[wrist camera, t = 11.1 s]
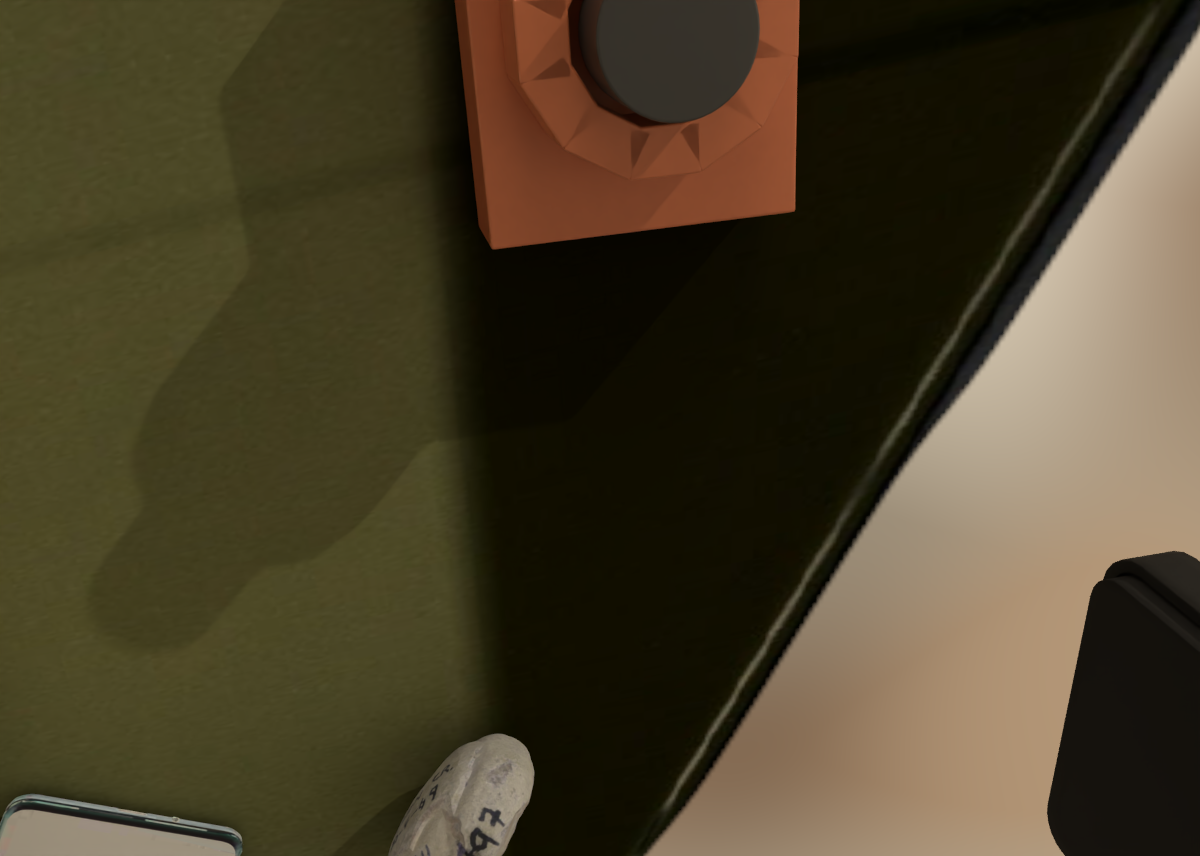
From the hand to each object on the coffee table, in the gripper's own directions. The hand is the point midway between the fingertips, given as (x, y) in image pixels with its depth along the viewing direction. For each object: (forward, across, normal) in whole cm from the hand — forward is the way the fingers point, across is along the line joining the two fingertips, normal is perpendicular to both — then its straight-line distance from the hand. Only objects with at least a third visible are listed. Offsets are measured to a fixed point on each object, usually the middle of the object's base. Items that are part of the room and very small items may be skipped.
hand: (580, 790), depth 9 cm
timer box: (+22, -6, -4) cm, 23 cm away
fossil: (+22, 0, +20) cm, 29 cm away
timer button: (+18, -6, -4) cm, 20 cm away
